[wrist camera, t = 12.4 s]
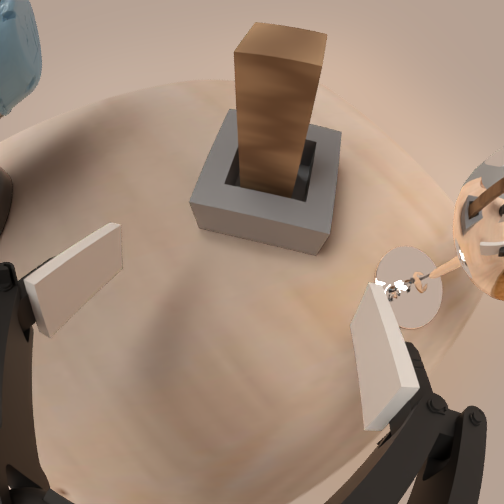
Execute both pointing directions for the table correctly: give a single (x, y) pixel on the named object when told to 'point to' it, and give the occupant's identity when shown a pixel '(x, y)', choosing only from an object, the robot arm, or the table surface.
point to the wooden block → (275, 103)
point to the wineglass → (467, 247)
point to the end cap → (269, 205)
